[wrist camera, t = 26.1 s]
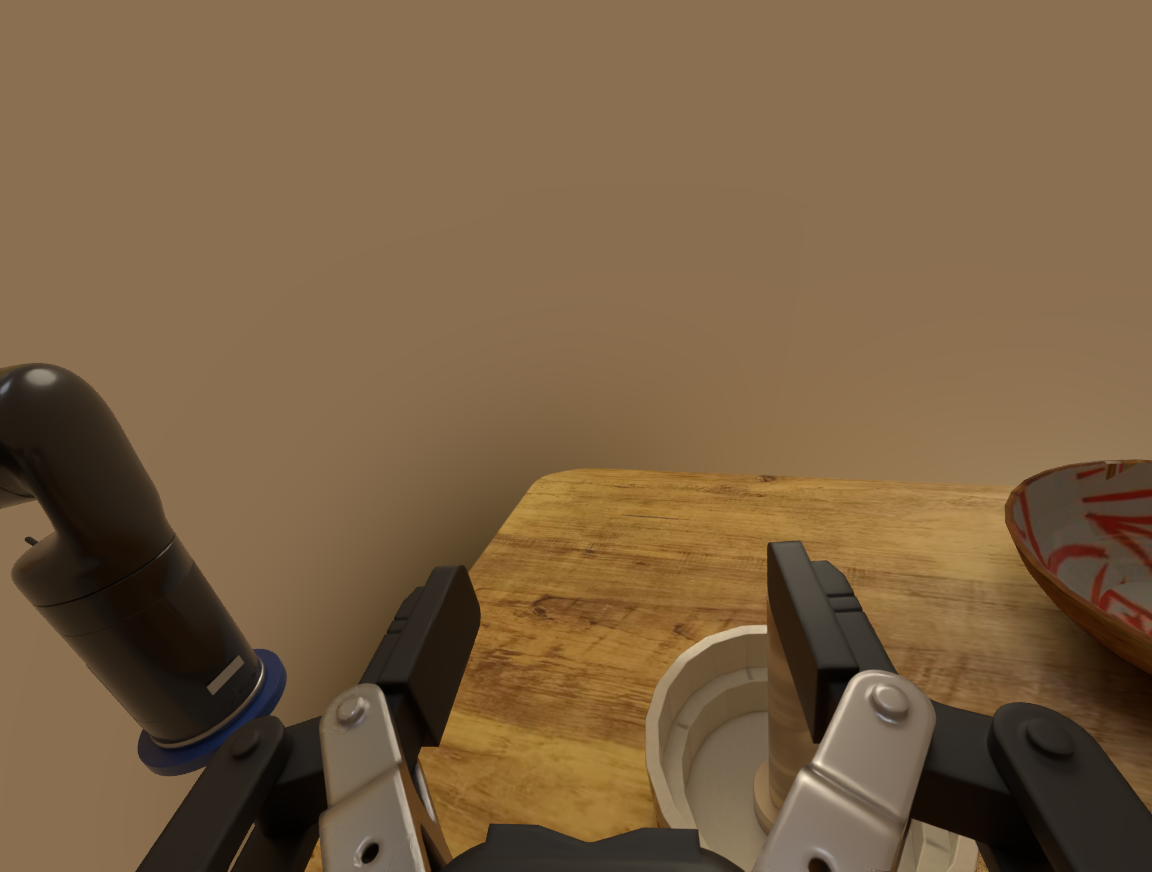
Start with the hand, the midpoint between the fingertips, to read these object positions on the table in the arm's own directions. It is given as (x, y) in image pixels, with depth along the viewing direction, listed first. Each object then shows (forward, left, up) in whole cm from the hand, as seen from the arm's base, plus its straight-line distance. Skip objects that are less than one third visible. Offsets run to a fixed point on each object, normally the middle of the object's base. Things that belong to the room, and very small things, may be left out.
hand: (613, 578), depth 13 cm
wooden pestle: (+7, +8, -27) cm, 29 cm away
